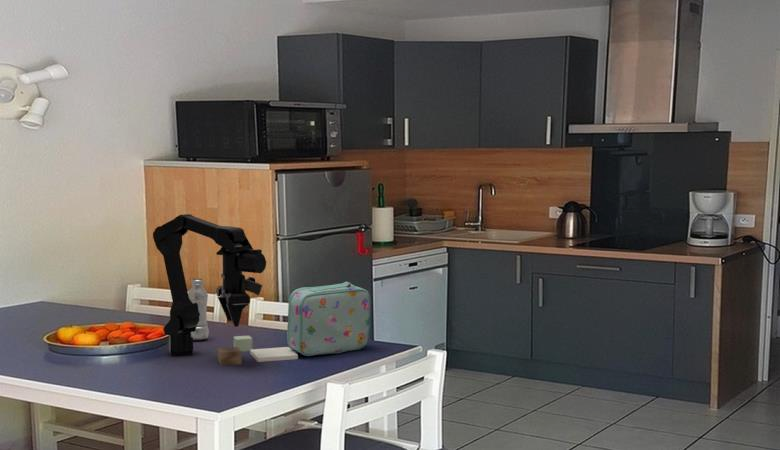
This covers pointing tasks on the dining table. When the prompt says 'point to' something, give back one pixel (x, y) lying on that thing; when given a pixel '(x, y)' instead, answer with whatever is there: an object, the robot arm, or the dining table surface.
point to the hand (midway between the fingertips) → (232, 323)
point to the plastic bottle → (199, 308)
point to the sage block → (243, 343)
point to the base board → (273, 354)
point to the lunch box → (328, 319)
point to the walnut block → (229, 356)
